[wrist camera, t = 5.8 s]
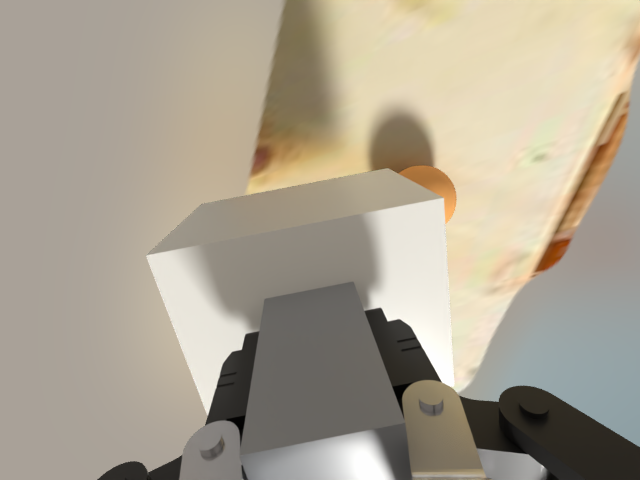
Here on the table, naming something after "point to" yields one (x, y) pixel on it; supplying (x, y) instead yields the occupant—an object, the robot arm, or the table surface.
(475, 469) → the robot arm
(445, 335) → the white block
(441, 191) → the ball
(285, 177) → the table surface
